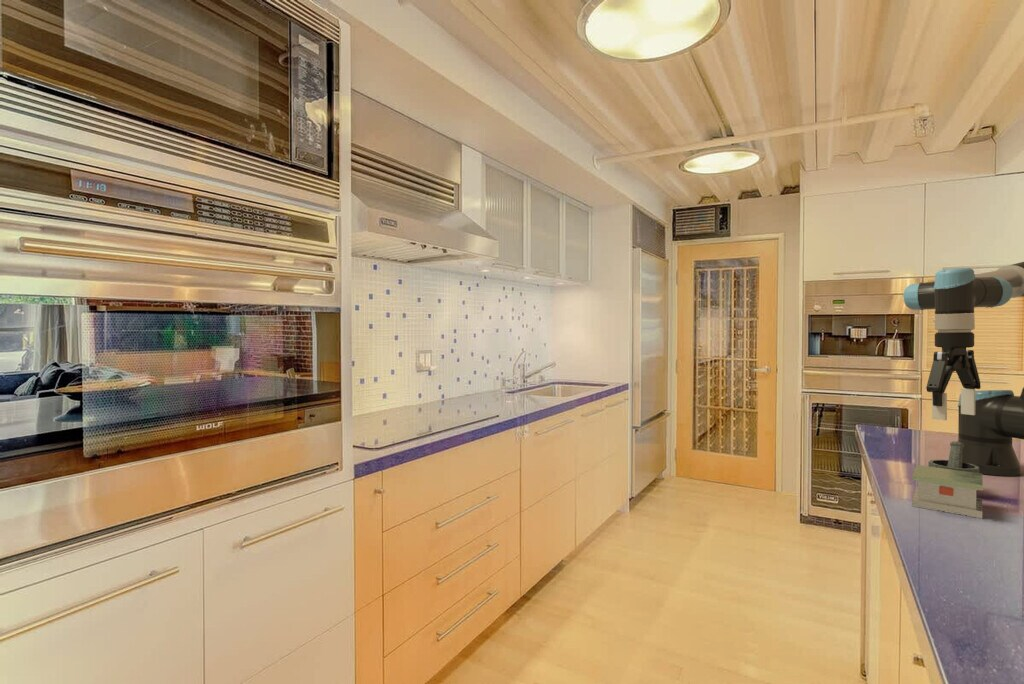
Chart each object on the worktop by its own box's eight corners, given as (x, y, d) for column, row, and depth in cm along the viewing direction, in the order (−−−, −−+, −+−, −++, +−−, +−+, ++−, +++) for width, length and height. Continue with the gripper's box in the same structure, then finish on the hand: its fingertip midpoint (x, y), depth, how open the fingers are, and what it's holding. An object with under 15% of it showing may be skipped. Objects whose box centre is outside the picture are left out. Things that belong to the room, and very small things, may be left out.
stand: (916, 493, 128) (916, 464, 128) (981, 504, 120) (982, 473, 120) (911, 506, 120) (912, 474, 119) (982, 518, 112) (982, 485, 111)
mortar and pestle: (974, 500, 124) (975, 450, 123) (925, 491, 131) (926, 443, 130) (981, 490, 131) (982, 443, 131) (934, 482, 138) (934, 437, 138)
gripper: (961, 330, 138) (961, 410, 138) (908, 332, 127) (908, 419, 127) (997, 330, 131) (997, 414, 132) (945, 332, 120) (945, 424, 121)
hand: (954, 417), depth 129 cm, fingers open, 13 cm apart
